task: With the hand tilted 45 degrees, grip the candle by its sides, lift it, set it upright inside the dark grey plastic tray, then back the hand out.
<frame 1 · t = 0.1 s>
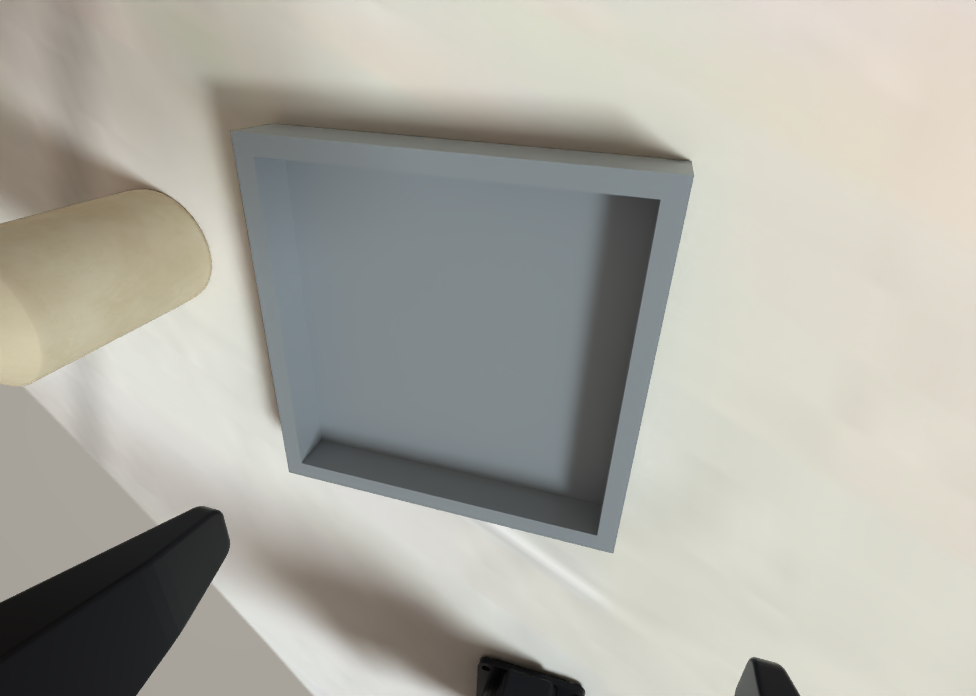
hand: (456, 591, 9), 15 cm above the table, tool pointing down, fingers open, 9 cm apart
candle: (167, 244, 27), on the table
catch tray: (459, 334, 24), on the table
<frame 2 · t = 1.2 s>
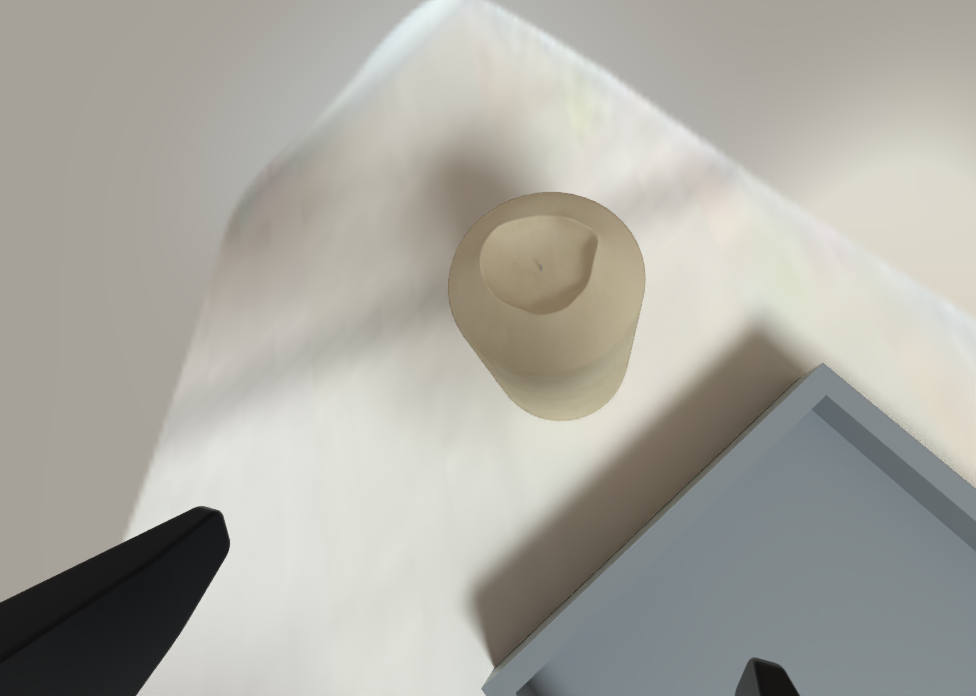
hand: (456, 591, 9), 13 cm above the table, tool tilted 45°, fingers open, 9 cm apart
candle: (560, 359, 24), on the table
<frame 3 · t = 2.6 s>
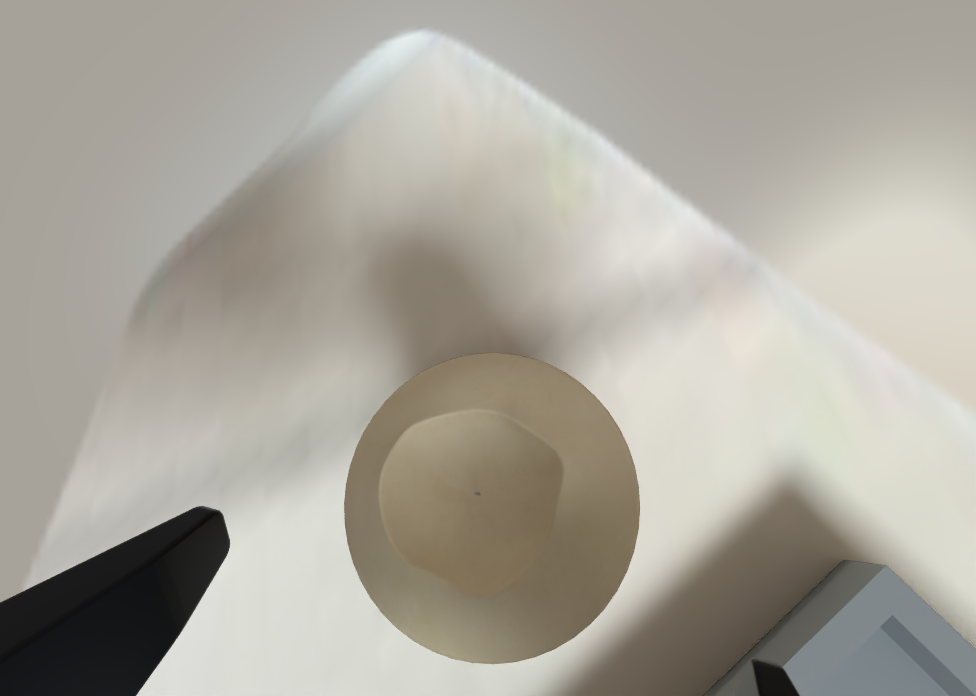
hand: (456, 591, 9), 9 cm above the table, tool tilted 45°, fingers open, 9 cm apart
candle: (532, 509, 18), on the table
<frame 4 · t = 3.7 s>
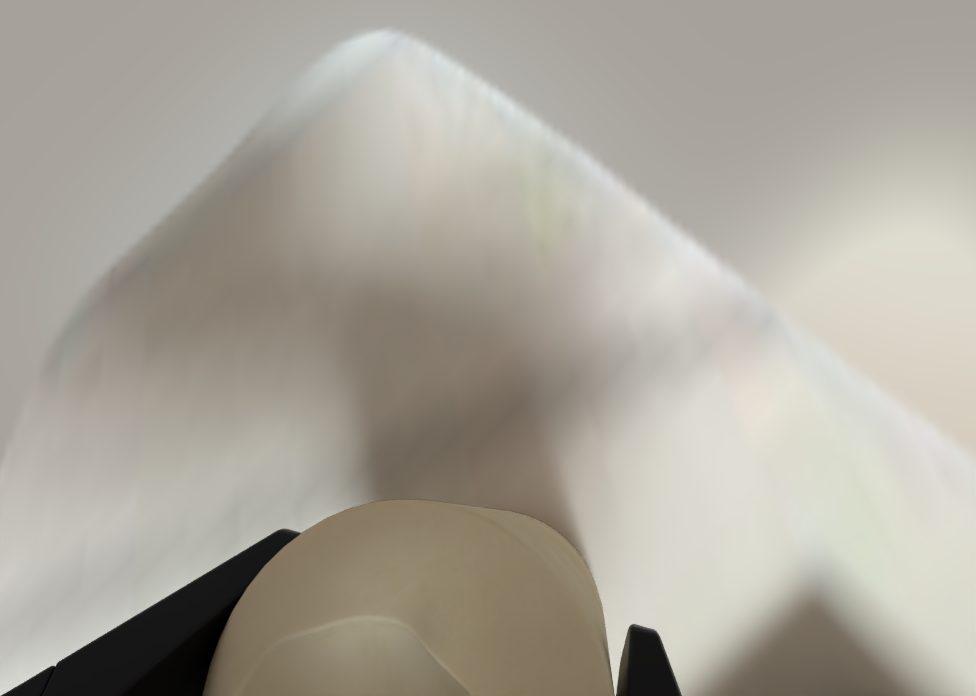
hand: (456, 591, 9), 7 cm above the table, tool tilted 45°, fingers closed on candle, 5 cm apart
candle: (500, 615, 15), on the table, touching gripper
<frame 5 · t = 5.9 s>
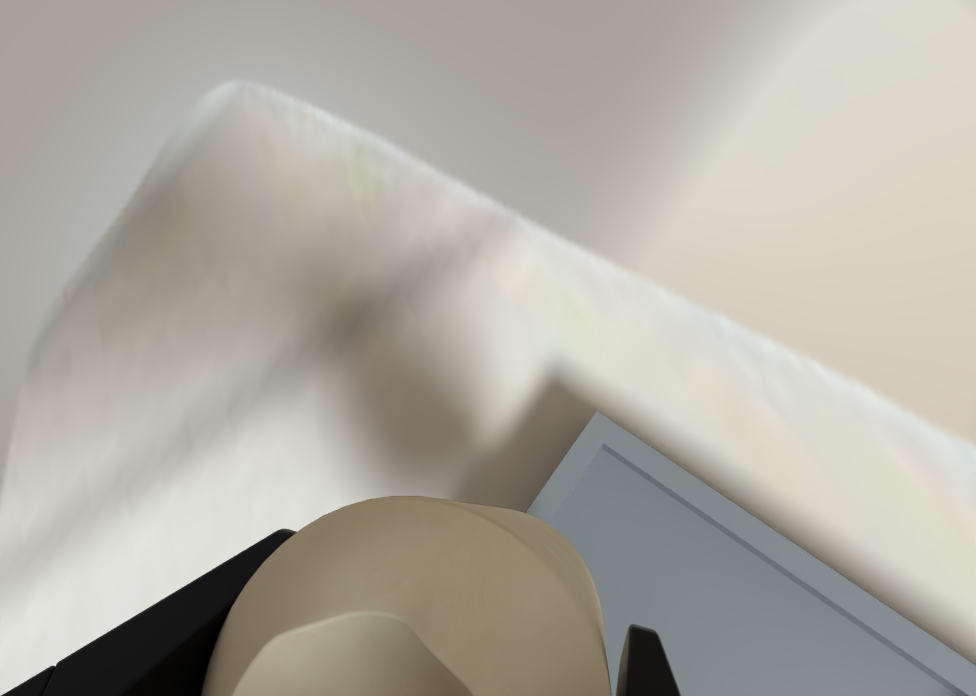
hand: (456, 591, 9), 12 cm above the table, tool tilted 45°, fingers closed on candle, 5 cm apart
candle: (499, 612, 15), point 5 cm above the table, touching gripper
when the fingers open (9 cm above the table, at t = 7.7 s): candle drops 2 cm, resting on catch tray.
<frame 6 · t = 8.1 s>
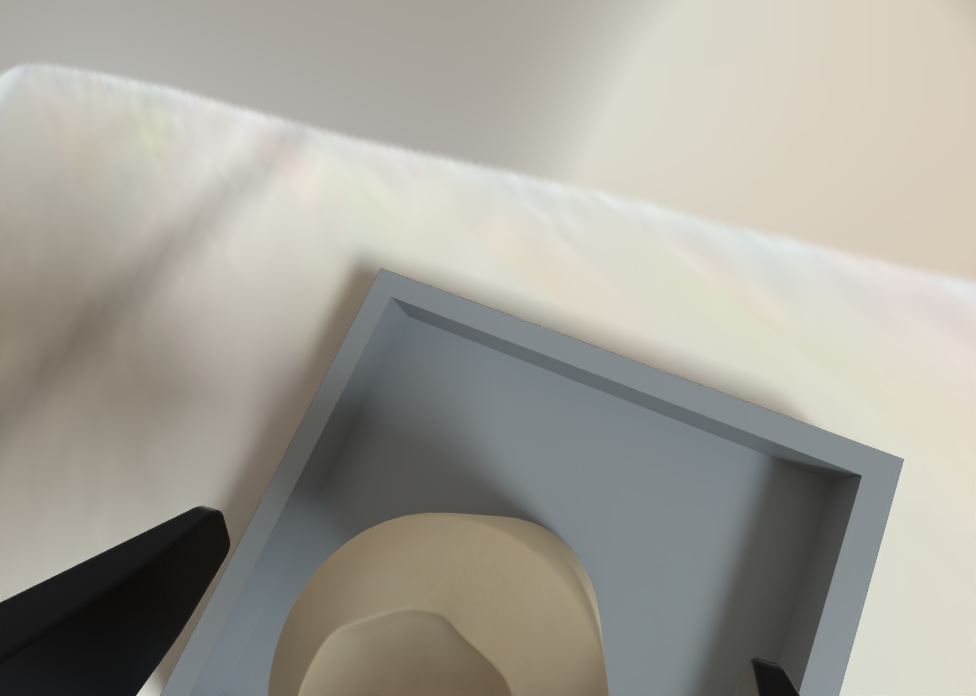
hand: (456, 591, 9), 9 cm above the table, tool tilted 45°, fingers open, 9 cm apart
candle: (506, 611, 17), resting on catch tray
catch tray: (512, 603, 17), on the table
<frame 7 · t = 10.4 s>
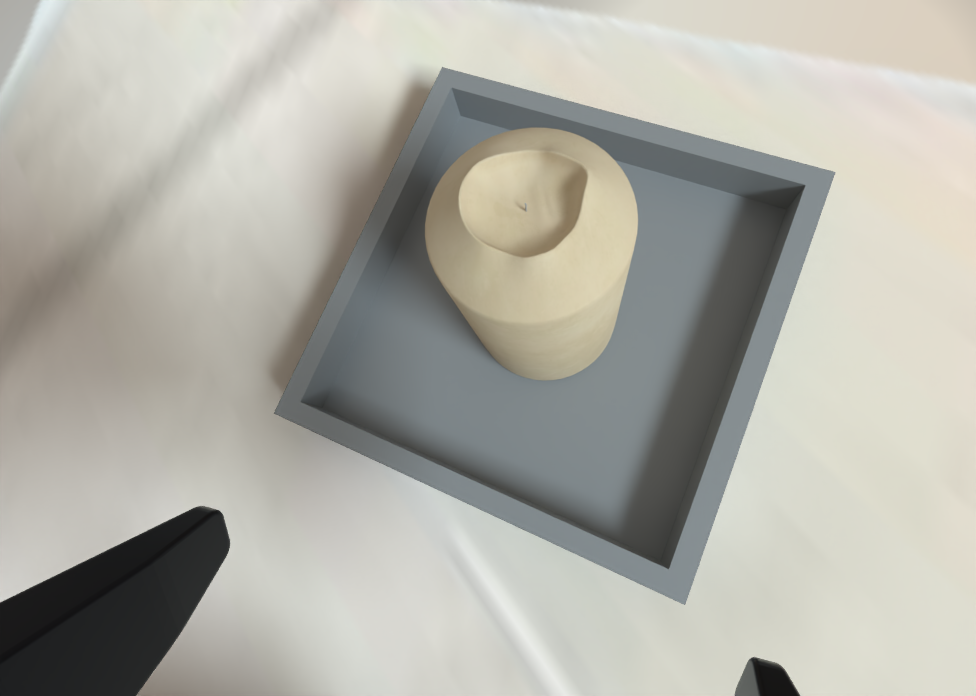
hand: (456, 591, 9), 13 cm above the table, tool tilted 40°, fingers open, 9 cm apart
candle: (546, 316, 23), resting on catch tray
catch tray: (549, 315, 23), on the table
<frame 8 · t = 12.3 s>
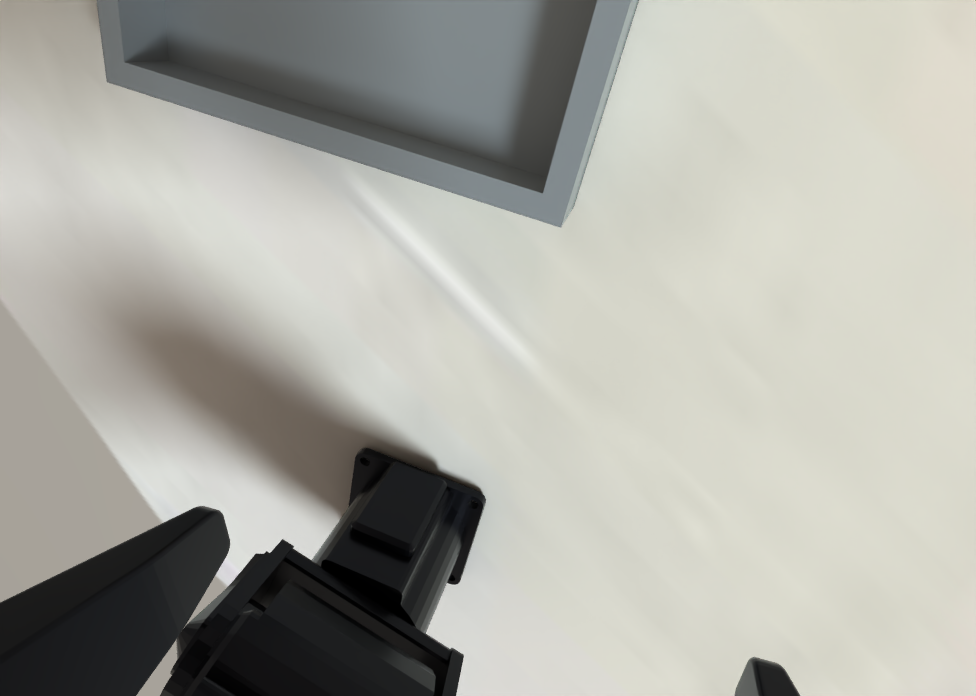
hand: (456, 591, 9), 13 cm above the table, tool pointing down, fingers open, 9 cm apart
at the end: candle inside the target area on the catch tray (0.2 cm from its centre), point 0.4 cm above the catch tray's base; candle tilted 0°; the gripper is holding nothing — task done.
